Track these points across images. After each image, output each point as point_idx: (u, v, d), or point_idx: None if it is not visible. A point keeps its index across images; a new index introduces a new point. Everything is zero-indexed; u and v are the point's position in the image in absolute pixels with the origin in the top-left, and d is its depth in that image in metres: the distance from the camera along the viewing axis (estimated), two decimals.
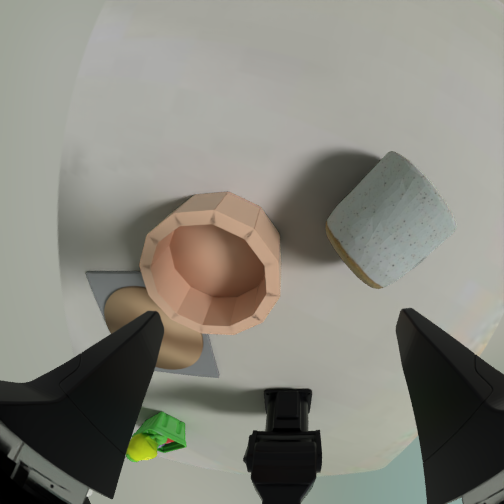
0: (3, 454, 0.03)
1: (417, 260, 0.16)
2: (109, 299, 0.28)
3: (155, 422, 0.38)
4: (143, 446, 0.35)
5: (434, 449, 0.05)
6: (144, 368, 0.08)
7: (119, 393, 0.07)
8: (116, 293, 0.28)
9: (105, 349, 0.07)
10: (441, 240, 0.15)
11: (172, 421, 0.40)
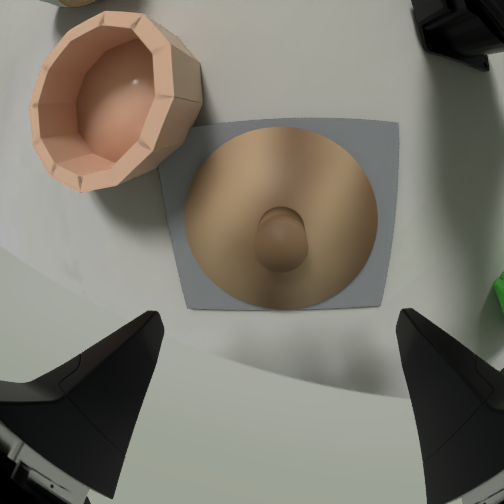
0: (3, 454, 0.03)
1: None
2: (216, 282, 0.20)
3: None
4: None
5: (434, 449, 0.05)
6: (144, 368, 0.08)
7: (119, 393, 0.07)
8: (201, 265, 0.19)
9: (105, 349, 0.07)
10: None
11: None
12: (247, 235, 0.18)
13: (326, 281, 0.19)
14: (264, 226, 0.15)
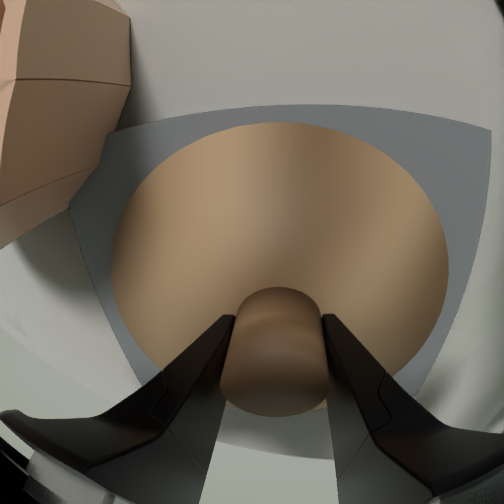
0: None
1: None
2: None
3: None
4: None
5: (342, 469, 0.05)
6: None
7: (208, 410, 0.06)
8: (152, 358, 0.11)
9: (194, 362, 0.07)
10: None
11: None
12: None
13: None
14: (240, 356, 0.06)
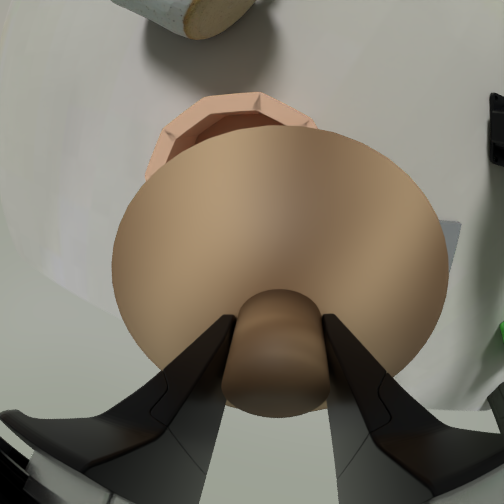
0: None
1: None
2: None
3: None
4: None
5: (342, 469, 0.05)
6: None
7: (208, 410, 0.06)
8: (153, 360, 0.11)
9: (194, 362, 0.07)
10: None
11: None
12: None
13: None
14: (241, 358, 0.06)
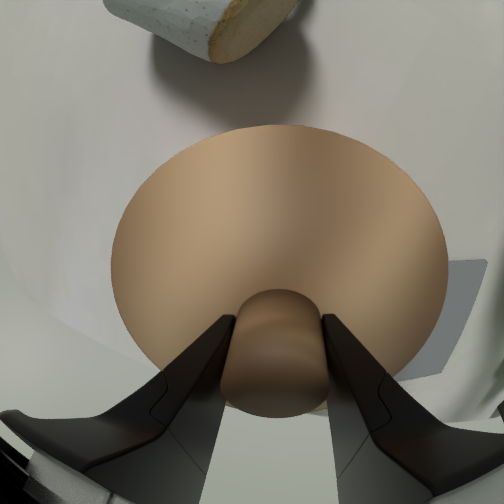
0: None
1: None
2: None
3: None
4: None
5: (342, 469, 0.05)
6: None
7: (208, 410, 0.06)
8: (152, 359, 0.11)
9: (194, 362, 0.07)
10: None
11: None
12: None
13: None
14: (240, 358, 0.06)
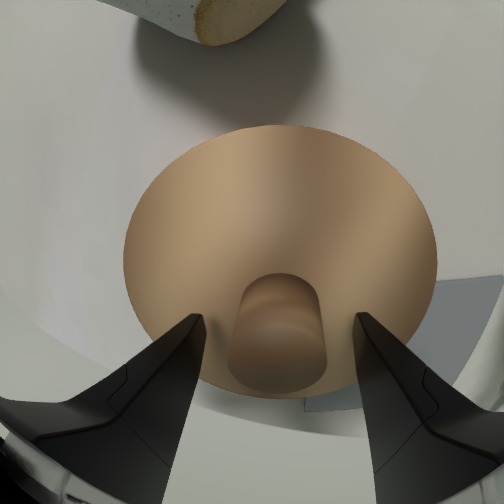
0: (41, 486, 0.03)
1: None
2: None
3: None
4: None
5: (382, 463, 0.05)
6: (191, 375, 0.08)
7: (169, 404, 0.07)
8: None
9: (154, 358, 0.07)
10: None
11: None
12: (224, 314, 0.11)
13: (345, 370, 0.12)
14: (246, 332, 0.07)
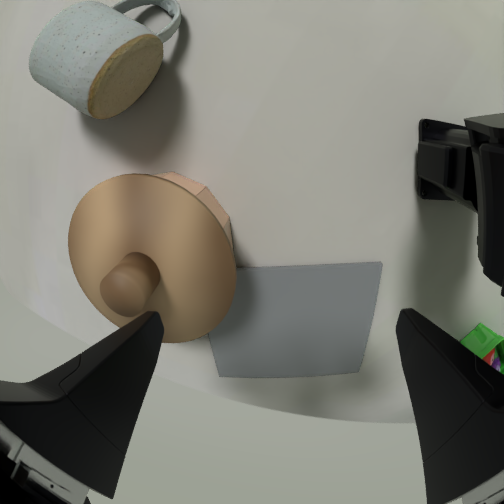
0: (3, 454, 0.03)
1: (90, 26, 0.09)
2: (105, 315, 0.19)
3: None
4: None
5: (434, 449, 0.05)
6: (144, 368, 0.08)
7: (119, 393, 0.07)
8: (91, 300, 0.19)
9: (105, 349, 0.07)
10: (72, 16, 0.08)
11: (469, 339, 0.24)
12: None
13: (194, 321, 0.19)
14: (104, 276, 0.14)
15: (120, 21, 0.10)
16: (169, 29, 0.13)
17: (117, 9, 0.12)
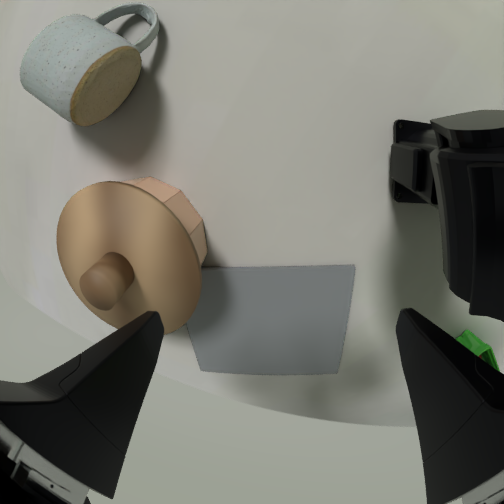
0: (3, 454, 0.03)
1: (70, 41, 0.10)
2: (90, 308, 0.21)
3: None
4: None
5: (434, 449, 0.05)
6: (144, 368, 0.08)
7: (119, 393, 0.07)
8: (77, 294, 0.20)
9: (105, 349, 0.07)
10: (55, 31, 0.09)
11: None
12: None
13: (166, 316, 0.20)
14: (83, 274, 0.15)
15: (98, 35, 0.11)
16: (146, 39, 0.14)
17: (100, 20, 0.12)
